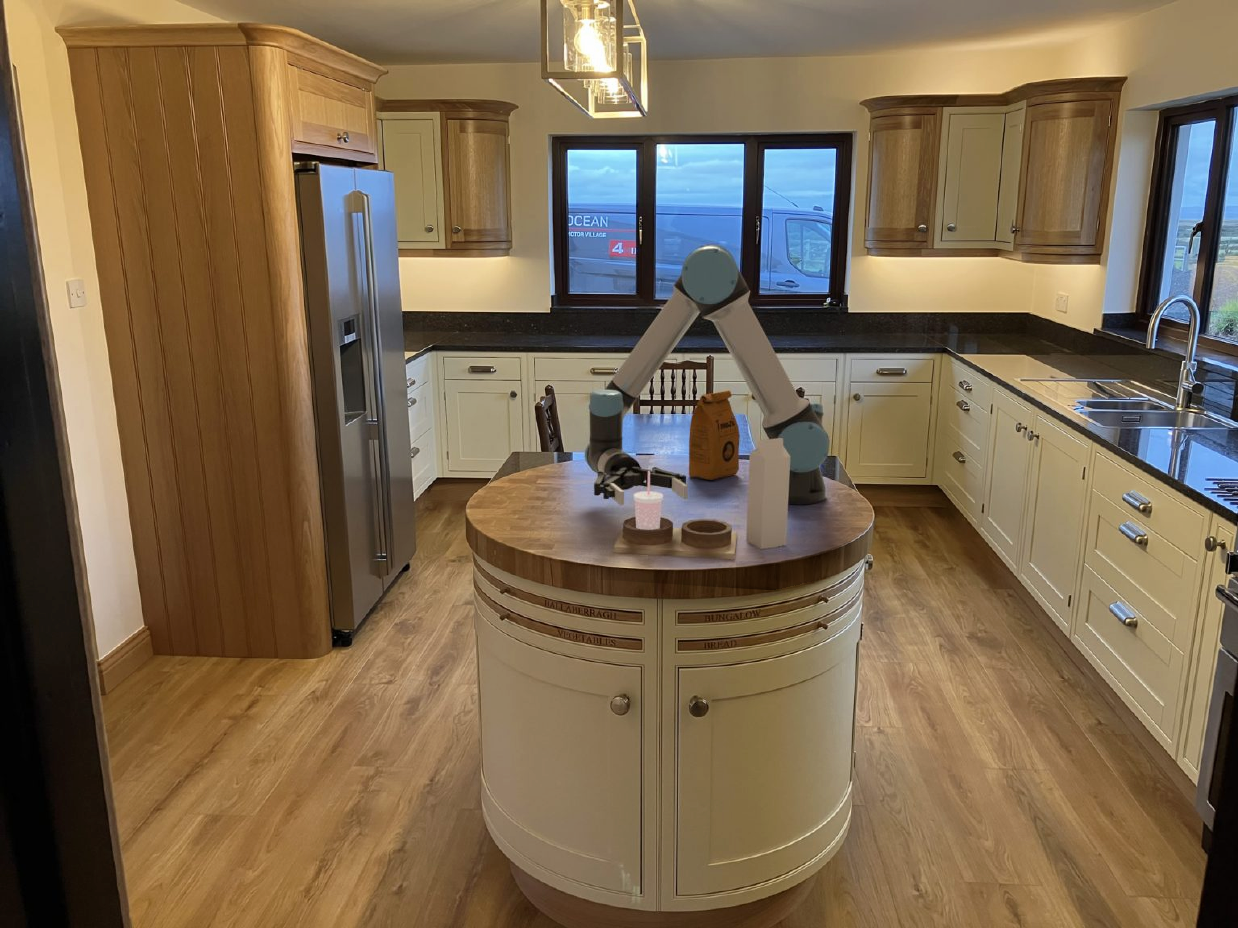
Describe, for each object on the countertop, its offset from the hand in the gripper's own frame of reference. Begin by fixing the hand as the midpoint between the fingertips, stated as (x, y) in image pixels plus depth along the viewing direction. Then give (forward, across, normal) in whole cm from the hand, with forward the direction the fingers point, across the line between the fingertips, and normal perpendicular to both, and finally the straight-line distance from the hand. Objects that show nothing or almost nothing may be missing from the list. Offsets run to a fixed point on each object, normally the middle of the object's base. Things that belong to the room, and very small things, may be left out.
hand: (654, 495), depth 196 cm
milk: (+4, -23, -11) cm, 26 cm away
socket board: (0, -5, -11) cm, 12 cm away
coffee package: (-47, -35, -11) cm, 60 cm away
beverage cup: (-3, 0, -10) cm, 11 cm away
